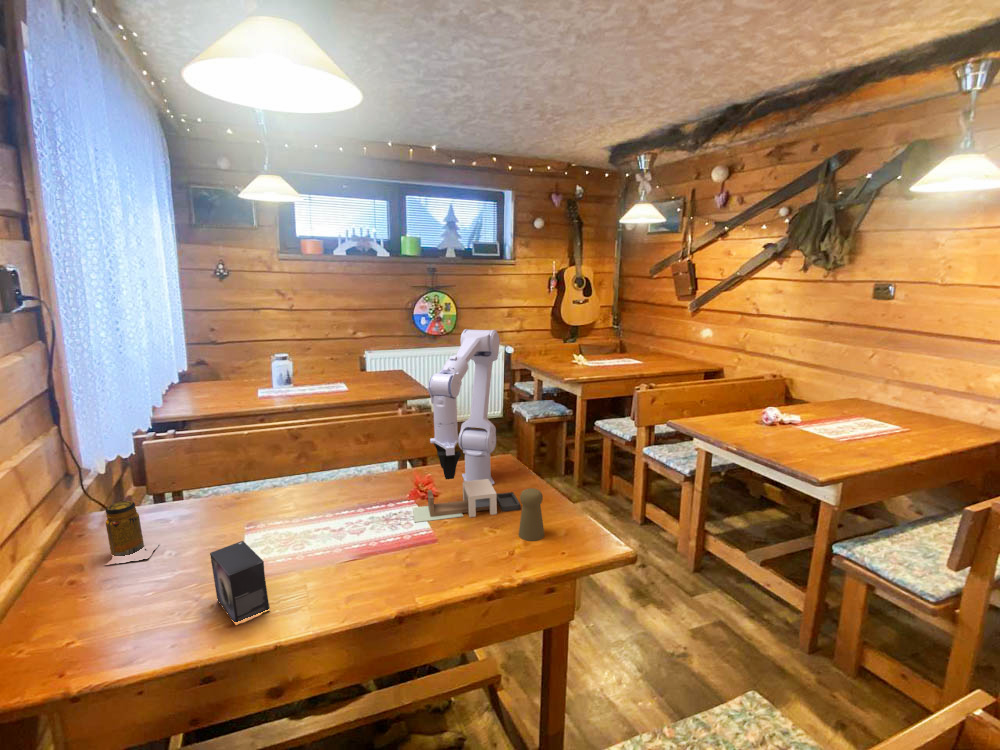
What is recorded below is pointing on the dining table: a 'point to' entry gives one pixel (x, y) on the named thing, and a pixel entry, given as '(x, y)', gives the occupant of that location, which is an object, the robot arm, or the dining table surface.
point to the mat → (424, 515)
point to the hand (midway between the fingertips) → (447, 473)
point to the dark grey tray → (508, 502)
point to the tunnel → (479, 495)
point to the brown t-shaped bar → (454, 506)
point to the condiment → (123, 528)
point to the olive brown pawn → (531, 515)
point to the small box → (239, 581)
